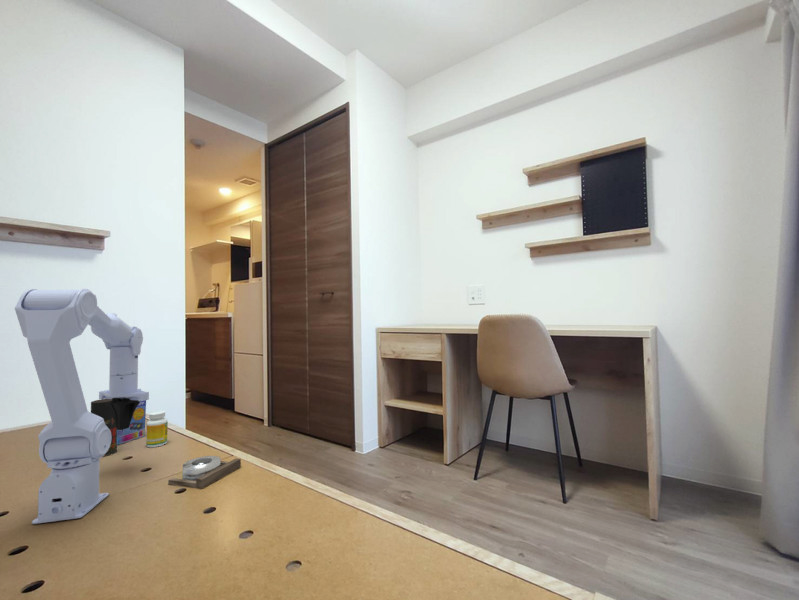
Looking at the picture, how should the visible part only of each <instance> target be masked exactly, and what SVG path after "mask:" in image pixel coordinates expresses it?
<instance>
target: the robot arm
mask: <svg viewBox="0 0 799 600" xmlns="http://www.w3.org/2000/svg"><path fill="white" fill-rule="evenodd" d="M14 311H15V314H16V317H17V320H18V323H19V327H20V329H21V330H20V331H21V333H22V336H23V337H24V338H26V341H27V345H28V348H29V351H30V355H31V358H32V362H33V364H34V368H35V371H36V375H37V377H38V380H39V383H40V386H41V390H42V395H43V397H44V401H45V403H46V406H47V409H48V414H49V417H50V422H49V423H47V425H45V426H44V427H43V429H42V430H41V432H40V433H39V434H38V436H37V437H38V440H39V447H38V455H39V458H40V460H41V461H42V463H45V464H47V465H46V467H47V469H51V471H50V473H49V475H48V476H47V477H46V478H44V480H43V481H42V482H41V483H40V485H39V488H38V499H37V503H38V504H37V505H38V506H37V517H36V518H35V519H33V520H31V524H32V525H37V524H43V523H51V522H58V521H65V520H67V521H68V520H75V519H80V518H83V517H84V516H85V515H87V514H88V513H90V512H91V510H93V509H94V508H95V507H97V505H99V503H101V502H102V501H103V500H104V499H106V498H107V497H108V496H109V492H102V493H100V468H101V467H100V466H101V465H100V463H101V462H100V460H101V458H104V457H105V456H104V455H105V453H106V452H107V451H108V449H109V447H110V444H111V438H112V437H111V431H110V430H109V428H108V427H107V426H106V425H105V422H104V419H103V418H102V417H100V416H97V415H95V414H93V413H91V411H89V410H88V408H87V404H86V399H85V395H84V392H83V388H82V385H81V381H80V378H79V374H78V373H79V372H78V370H77V366H76V361H75V358H74V354H73V352H72V348H71V344H70V342H71V340H72V339H75V338H77V337H79V336H81V335H82V334H83V333H84V332H85V329H86V328H87V327H88V326H90V330H91V332H92V334H93V335H95V336H97V337H98V338H100V339H101V340H102V342H104V347H105V348H106V350H109V378H108V379H109V380H108V381H109V383H108V386H109V387H108V389H106V390H101V391H98V400H101V399H112V401H111V402H108V403H106V406H107V407H108V409H109V410H110V412H111V413H112V416H113V418H114V421H115V425H116V428H117V430H123V429H127V428H129V426H130V423H131V419H132V416H133V413H134V411H135V409H136V407H137V406H138V404H139V403H140V401H145V400H146V401H149V399H150V392H149V391H145V390H142V389H141V388H139V387H138V384H139V382H138V381H139V373H138V372H139V356H140V354H141V351H142V349H141V348H142V344H143V340H144V336H143V332H142V330H141V328H138V326H130V325H129V324H127V323H126V322H125V321H124V320H123V319H121V318H120V317H118V315H117V314H116V313H115V312H112V313H111V312H110V313H105V312H104V311H103V310H102V309H101V308H100V307H99V305H98V299H97V295H96V294H94V293H93V292H92V291H91V290H90V289H89V288H80V289H37V288H29V289H27V290H26V289H25V291H23V293H22V294H21V296H19V298H18V301H17V303H16V305H15V306H14ZM103 456H104V457H103Z"/></svg>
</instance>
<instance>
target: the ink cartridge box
mask: <svg viewBox="0 0 799 600" xmlns="http://www.w3.org/2000/svg"><path fill="white" fill-rule="evenodd" d="M146 405H147V400H145V401H140V403H139V404H138V406H137V407H136V409H135V411H134V413H133V416H132V419H131V423H130V426H129V428H127V429H123V430H117V446H119V445H122V444H125V443H128V442H131V441H134V440H137V439H140V438H144V437H145V434H146V417H147V416H146V413H147V412H146V411H147V410H146V409H147V406H146Z"/></svg>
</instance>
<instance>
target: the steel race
mask: <svg viewBox="0 0 799 600" xmlns="http://www.w3.org/2000/svg"><path fill="white" fill-rule="evenodd" d="M220 461H221V457H220V456H216V455H206V456H205V455H204V456H200V457H195V458H192V459H190V460H187V461H185V462H184V463H182V478H181V479H185V480H192V481H196V479H197V478H199V477H201V476H203V475H205V474H207V473H209V472H211V471H212V470H214V469H216V468H218V467H220Z"/></svg>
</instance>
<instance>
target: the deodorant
mask: <svg viewBox="0 0 799 600" xmlns="http://www.w3.org/2000/svg"><path fill="white" fill-rule="evenodd" d="M111 401H112V399H96V400H93V401H91V402H90V413H93V414H95V415H97V416H100V417H102V418H103V419H104V422H105V425H106V426H107V427H108V428H109V430H110V431H111V437H112V438H111V444H110V447H109V449H108V451H107V452H106V453H105V455H104V456H103V457H102V458H104V457H108V456H111V454H112V455H114V454H116V453H117V452H118V451H117V450H118V449H117V447H118V445H117V428H116V425H115V421H114V418H113V416H112V413H111V412H110V410H109V409H108V407H107V406H106V403H108V402H111Z"/></svg>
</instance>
